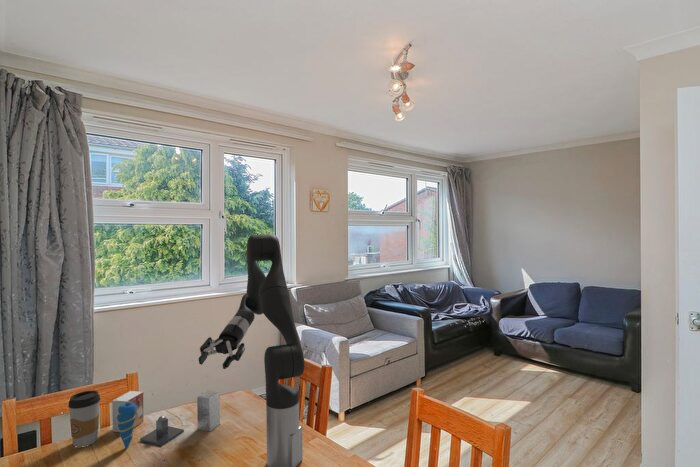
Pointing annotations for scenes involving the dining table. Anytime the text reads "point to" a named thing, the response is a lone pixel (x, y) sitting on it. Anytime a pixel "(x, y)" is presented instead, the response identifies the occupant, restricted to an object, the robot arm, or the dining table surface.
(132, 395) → the small box
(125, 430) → the ornament
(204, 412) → the brushed metal pedestal
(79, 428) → the coffee cup
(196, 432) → the dining table surface
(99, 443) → the dining table surface
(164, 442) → the grey plate with post
